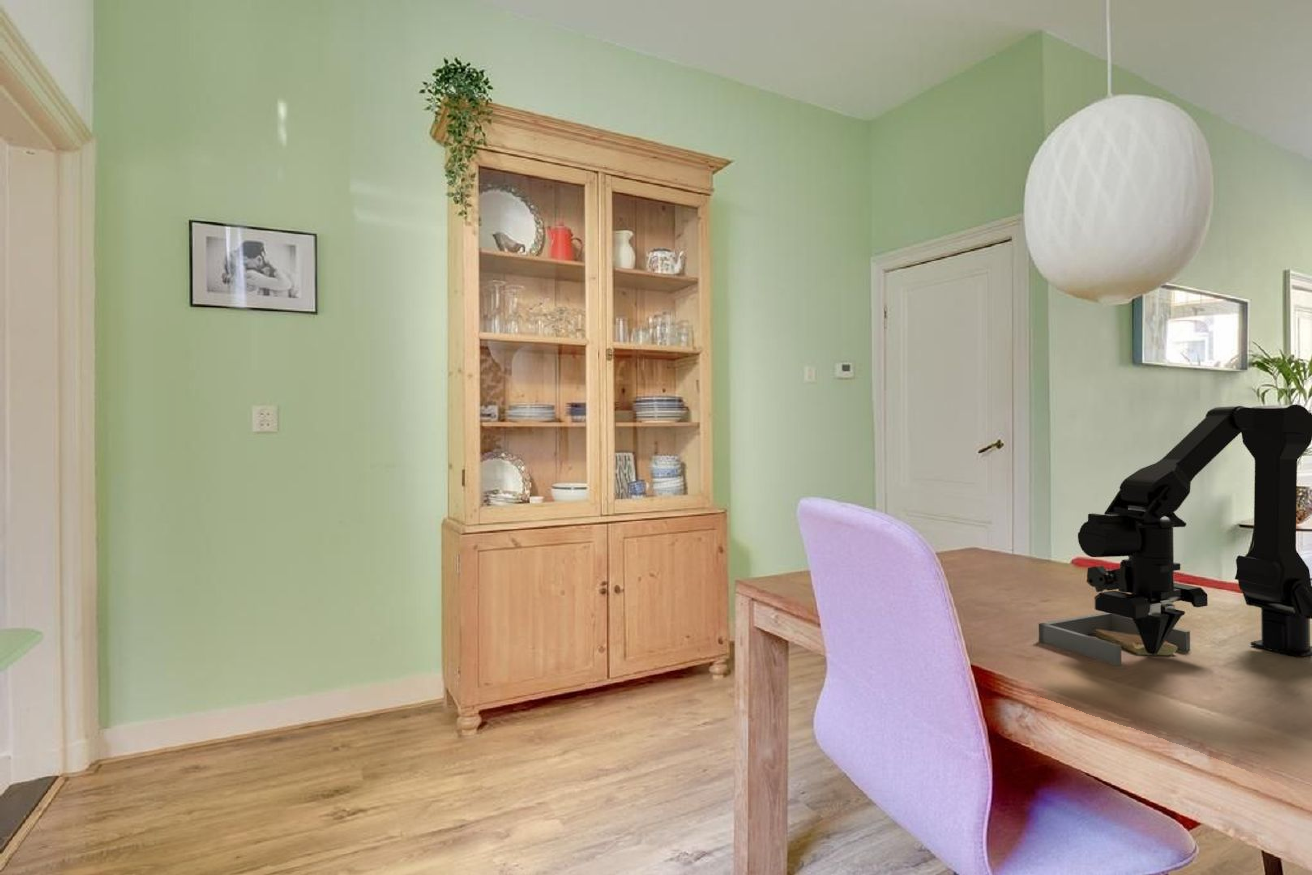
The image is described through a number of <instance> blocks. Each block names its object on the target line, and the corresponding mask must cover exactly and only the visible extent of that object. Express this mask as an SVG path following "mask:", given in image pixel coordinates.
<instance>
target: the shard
mask: <svg viewBox="0 0 1312 875" xmlns="http://www.w3.org/2000/svg"><path fill="white" fill-rule="evenodd" d="M1094 630H1095V632H1096V633H1095V635H1096V636H1098V637H1100V638H1102V639H1103V640H1106V641H1108V642H1112V643H1115V644H1119V645H1121V648H1124V649H1126V650H1128V651H1130V652H1132V653H1135V655H1137V656H1140V655H1141V656H1143V655H1147V656H1149V655H1151V654H1150V653H1147V651H1146V649H1145V646H1144V644H1143V641H1142V639H1141V636H1140V635H1135V634H1129V633H1122V632H1115V631H1112V630H1110V631H1108V630H1102V629H1097V628H1094ZM1177 650H1178V648H1177V646H1175V645H1173V644H1170V643H1168V642H1166V641H1165V642H1164V643H1163V645H1162V646H1161V648H1160V650H1159V651H1158V653H1157V654H1156V655H1161V656H1162V655H1165V656H1173V655H1174V654H1175V653H1176V651H1177Z"/></svg>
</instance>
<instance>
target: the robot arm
mask: <svg viewBox="0 0 1312 875" xmlns="http://www.w3.org/2000/svg"><path fill="white" fill-rule="evenodd" d="M1240 434H1241V439H1242V444H1243V445H1244V447H1245V448H1246V449H1247V451H1248V452H1249V453H1250V455H1251V456H1252V458H1253V460H1254V485H1253V486H1254V492H1253V495H1254V497H1253V498H1254V499H1253V500H1254V501H1253V545H1252V547H1251V548H1250V550H1249V551H1248V552H1247V553H1246V554H1245V555H1238V556H1236V558H1235V564H1236V574H1235V576H1234V580H1237V582H1238V588H1239V590H1240V591H1241V592H1242V596H1243V598H1244V601H1245V604H1246V605H1247V606H1250V607H1251V606H1252V607H1256V608H1260V611H1261V612H1260V616H1261V617H1260V618H1261V620H1260V621H1261V623H1260V624H1261V625H1260V627H1261V629H1260V630H1261V639H1259V640H1253V641H1250V645H1251V646H1254V647H1256V648H1257V647H1258V648H1261V649H1265V650H1270V651H1274V652H1278V653H1282V654H1287V655H1290V656H1296V657H1306V656H1309V655H1312V645H1311V620H1312V581H1311V580H1312V578H1311V573H1310V568H1309V566H1308V565H1307V564H1306V563H1305V562H1306V561H1304V559H1303V558H1302V556H1301V555H1300V554H1299V553H1298V550H1297V494H1298V493H1297V491H1298V490H1297V487H1298V486H1297V485H1298V484H1297V483H1298V474H1297V473H1298V460H1299V459H1300V458H1301V456H1302V455H1303V454H1304V452H1306V450H1307V449H1308V448H1309V447H1310V445H1311V444H1312V412H1311V411H1309V410H1308V409H1307V408H1306V407H1305V406H1303V405H1301V404H1296V403H1295V404H1277V405H1276V404H1274V405H1271V404H1270V405H1256V406H1251V407H1247V406H1242V405H1233V406H1232V405H1231V406H1216V407H1214V408H1211V409H1210V410H1208V411H1207V412H1206V414H1205V418H1204V419H1202V420H1201V421H1200V422H1199V423H1198V424H1197V425H1196V426H1195V427H1194V428H1193V429H1192V430H1191V431H1190V432H1188V434H1187V435H1185V436H1184V437H1183V438H1182V439H1181V440H1180V441H1179V442H1178V443H1177V444H1176V445H1175V446H1174V447H1173V448H1172V449H1171V450H1169V452H1168V453H1166V455H1165V456H1163V457H1162V458H1161V459H1160V460H1158V461H1157V462H1155V463H1152V464H1149V465H1147V466H1144V467H1142V468H1140V469H1138V470H1137V471H1135V472H1133V473H1132V474H1130V475H1128V476H1127V477H1126V478H1125V479H1123V480H1122V482H1121V483H1120V485H1119V491H1118V492H1117V493H1116V495H1115V497H1114V498H1113V500H1112V501H1111V503H1110V504H1109V506H1107V508H1106V510H1105V511H1104V514H1101V513H1094V512H1093V513H1088V514H1087V521H1085V522H1084V523H1083V524H1082V525H1081V526H1080V529H1079V531H1078V533H1077V540H1078V542H1077V543H1078V544H1079V546H1080V549H1081V551H1082V553H1084V554H1085V555H1086V556H1088V557H1091V558H1113V557H1128V558H1126V559H1121V561H1120V564H1119V566H1120V567H1119V568H1115V569H1109V570H1108V569H1107V568H1105V567H1104V566H1103V565H1096V566H1095V565H1094V566H1090V567H1087V571H1086V578H1087V579H1086V583H1087V584H1089V586H1091V587H1092V588H1095V591H1096V593H1098V594H1096V595H1095V596H1094V600H1093V602H1094V610H1095V611H1099V612H1101V613H1104V612H1107V613H1111V614H1115V615H1119V616H1123V617H1127V618H1132V619H1133V621H1134V623H1135V625H1136V627H1137V629H1138V631H1139V634H1140V636H1141V639H1142V641H1143V644H1144V646H1145V649H1146V651H1147V653H1150V654H1149V655H1158V654H1157V653H1158V651H1159V650H1160V648H1161V646H1162V645H1163V643H1164V642H1165V640H1166V638H1167V637H1168V635H1169V634H1170V632H1171V631H1172V629H1173V628H1175V626H1176V625H1177V623H1178V622H1179V620H1180V619H1181V618H1182V617H1183V616H1184V615H1185V614H1186V611H1184V610H1181V609H1176V605H1175V604H1174V603H1175V602H1179V601H1180V602H1184V603H1185V602H1186V603H1190V604H1191V605H1192V607H1194V608H1202V607H1208V600H1209V599H1208V594H1207V592H1206V591H1205V590H1204V589H1203V588H1202V587H1199V586H1195V585H1189V584H1184V583H1179V582H1175V578H1174V577H1175V576H1174V575H1175V572H1176V571H1181V563H1180V562H1174V557H1175V556H1174V528H1185V527H1186V526H1187V523H1186V522H1185V521H1184V520H1182V518H1180V517H1178V515H1176V513H1175V512H1177V511H1178V509H1179V508H1180V507H1181V506H1182V504H1183V503H1184V502H1185V500H1186V499H1187V497H1188V496H1189V495H1190V493H1191V482H1192V481H1193V479H1195V477H1196V476H1197V475H1198V474H1199V473H1200V472H1202V470H1203V469H1204V468H1205V467H1206V466H1207V465H1209V463H1211V461H1213V460H1214V458H1216V457H1217V456H1218V455H1219V454H1220V453H1221V452H1222V451H1223V450H1224V449H1226V447H1227V446H1229V444H1230V443H1231V442H1232V441H1233V440H1235V439H1236V437H1238V436H1239V435H1240Z"/></svg>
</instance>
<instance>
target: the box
mask: <svg viewBox="0 0 1312 875" xmlns="http://www.w3.org/2000/svg"><path fill="white" fill-rule="evenodd" d="M1094 628H1097V629H1102V630H1108V631H1115V632H1122V633H1129V634H1135V635H1140V634H1139V631H1138V629H1137V627H1136V625H1135V623H1134V621H1133V619H1132V618H1127V617H1123V616H1119V615H1115V614H1111V613H1107V612H1100V613H1099V612H1098V613H1093V614H1087V615H1081V616H1074V617H1068V618H1064V619H1059V620H1058V619H1056V620H1052V621H1051V620H1050V621H1046V622H1041V623H1040V622H1039V623H1038V641H1039V642H1041V643H1044V644H1047V645H1050V646H1053V647H1057V648H1061V649H1063V650H1067V651H1070V652H1072V653H1075V654H1079V655H1081V656H1085V657H1088V658H1092V659H1094V660H1098V661H1101V662H1105V663H1107V664H1110V665H1114V666H1121V665H1122V646H1121V645H1119V644H1116V643H1114V642H1111V641H1109V640H1106V639H1100V638H1097V637H1093V636H1090V635H1093V634H1096V632H1095V630H1094ZM1165 641H1166V642H1168V643H1170V644H1173V645H1175V646H1177V649H1180V650H1183V651H1190V650H1191V631H1190V630H1186V629H1181V628H1178V627H1174V628H1173V629H1172V631H1171V632H1170V634H1169V635H1168V637H1167V638H1166V640H1165Z"/></svg>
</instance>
